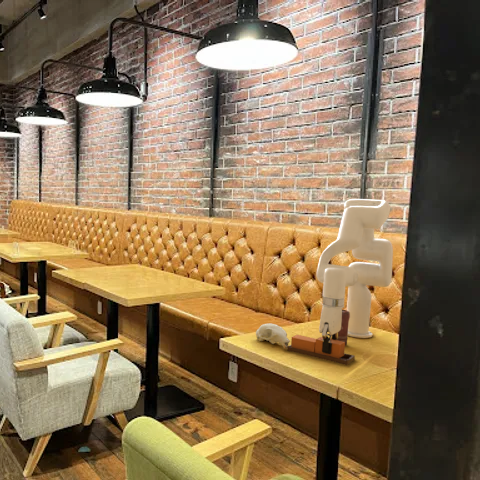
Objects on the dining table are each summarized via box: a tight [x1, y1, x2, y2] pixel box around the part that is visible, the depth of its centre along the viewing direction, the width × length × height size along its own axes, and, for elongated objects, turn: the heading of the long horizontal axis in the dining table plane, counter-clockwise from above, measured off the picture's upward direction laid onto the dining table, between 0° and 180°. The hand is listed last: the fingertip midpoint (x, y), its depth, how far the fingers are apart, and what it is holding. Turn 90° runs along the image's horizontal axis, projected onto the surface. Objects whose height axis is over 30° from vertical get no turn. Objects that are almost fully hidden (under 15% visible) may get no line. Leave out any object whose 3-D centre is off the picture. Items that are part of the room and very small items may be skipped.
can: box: [336, 309, 350, 347], centre depth 193 cm, size 6×6×14 cm
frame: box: [286, 344, 356, 366], centre depth 179 cm, size 8×22×2 cm, turn 51°
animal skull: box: [255, 322, 291, 350], centre depth 190 cm, size 10×16×10 cm, turn 16°
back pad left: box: [290, 334, 317, 353], centre depth 182 cm, size 5×9×5 cm, turn 51°
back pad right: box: [315, 336, 346, 358], centre depth 176 cm, size 5×9×5 cm, turn 51°
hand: (329, 350), depth 176 cm, fingers closed on back pad right, 4 cm apart
